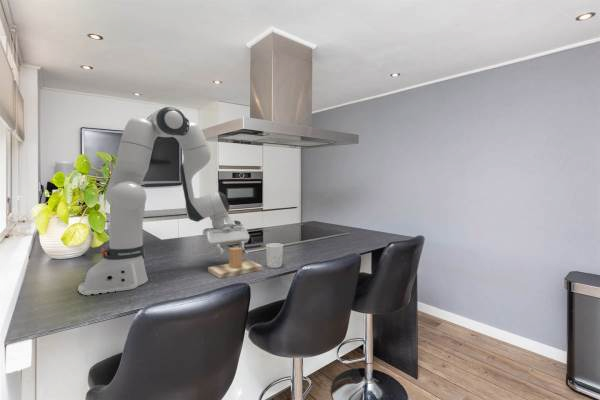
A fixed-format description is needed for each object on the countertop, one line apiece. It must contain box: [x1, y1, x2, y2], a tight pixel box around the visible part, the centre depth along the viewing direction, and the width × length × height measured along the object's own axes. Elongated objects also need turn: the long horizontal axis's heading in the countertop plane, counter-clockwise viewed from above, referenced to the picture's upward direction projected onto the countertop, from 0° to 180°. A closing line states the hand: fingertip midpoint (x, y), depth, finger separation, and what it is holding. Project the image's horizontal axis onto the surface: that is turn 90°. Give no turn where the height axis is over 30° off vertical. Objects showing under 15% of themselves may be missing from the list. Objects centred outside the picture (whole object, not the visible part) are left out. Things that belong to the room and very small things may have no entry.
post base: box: [207, 259, 263, 280], centre depth 132 cm, size 20×12×9 cm, turn 129°
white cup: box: [265, 242, 284, 269], centre depth 140 cm, size 8×8×10 cm
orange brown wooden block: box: [228, 246, 243, 268], centre depth 132 cm, size 4×4×8 cm
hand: (232, 251), depth 133 cm, fingers open, 8 cm apart
